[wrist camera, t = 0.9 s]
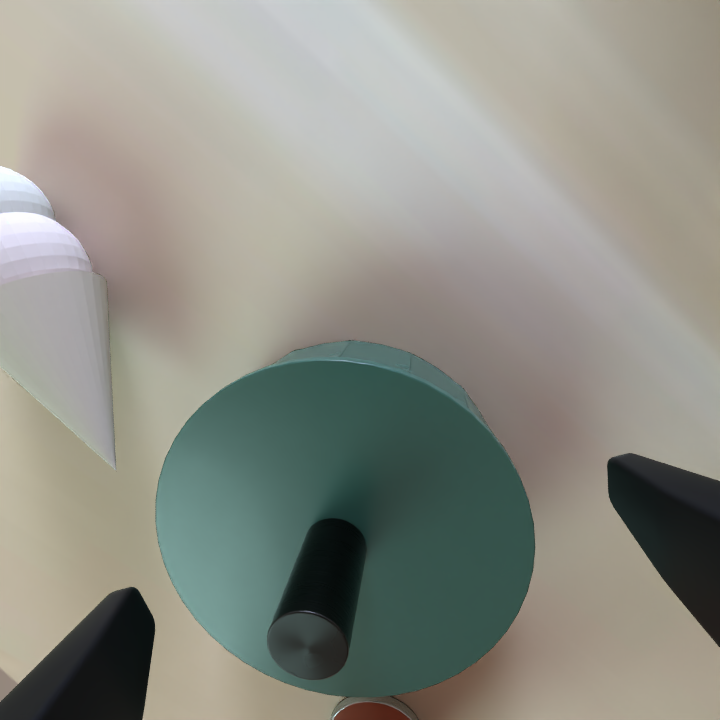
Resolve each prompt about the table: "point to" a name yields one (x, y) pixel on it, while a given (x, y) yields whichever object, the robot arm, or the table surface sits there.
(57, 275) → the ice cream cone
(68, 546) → the table surface
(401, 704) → the tin can
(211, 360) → the table surface
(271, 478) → the pot lid
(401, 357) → the pot
